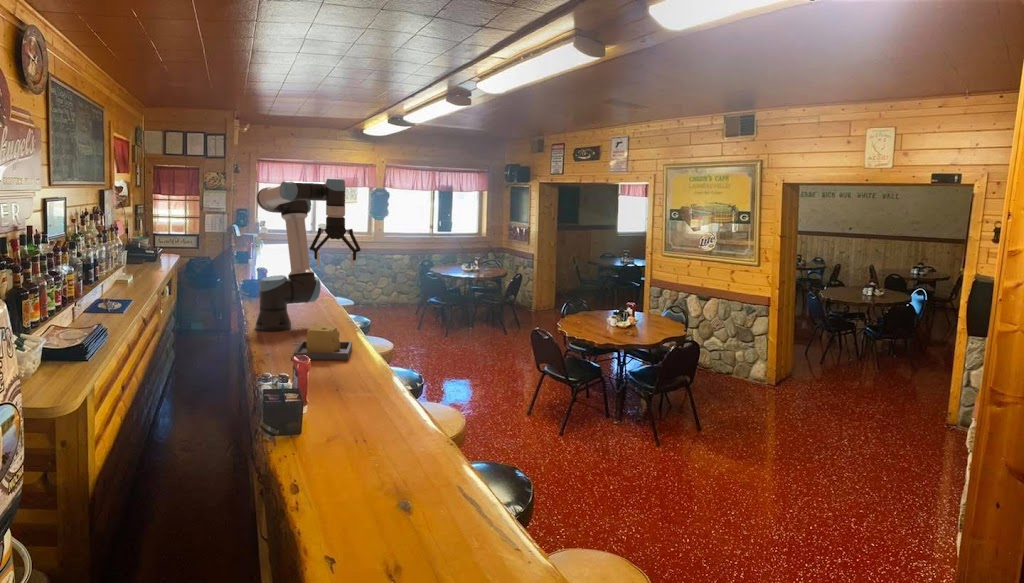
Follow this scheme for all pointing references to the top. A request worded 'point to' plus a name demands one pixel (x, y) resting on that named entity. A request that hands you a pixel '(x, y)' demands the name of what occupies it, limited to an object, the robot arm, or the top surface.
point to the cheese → (323, 339)
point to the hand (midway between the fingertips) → (335, 267)
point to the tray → (325, 356)
